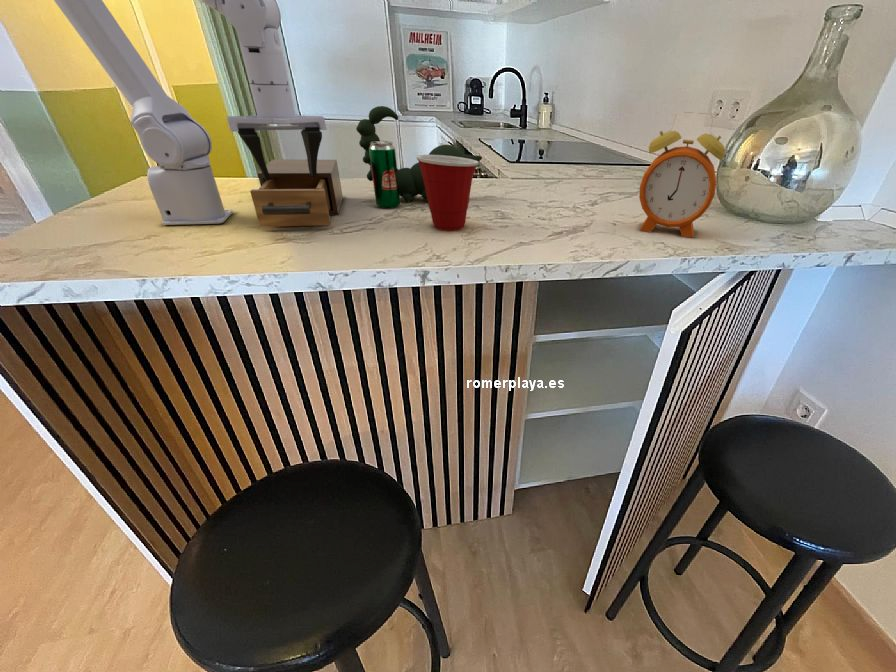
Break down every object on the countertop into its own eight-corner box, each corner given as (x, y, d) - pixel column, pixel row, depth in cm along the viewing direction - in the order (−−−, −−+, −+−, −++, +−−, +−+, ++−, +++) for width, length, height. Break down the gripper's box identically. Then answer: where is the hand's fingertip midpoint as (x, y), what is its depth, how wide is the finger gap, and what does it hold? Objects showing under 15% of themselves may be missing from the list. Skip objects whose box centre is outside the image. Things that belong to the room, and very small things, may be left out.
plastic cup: (490, 227, 85) (491, 158, 78) (446, 239, 78) (443, 163, 71) (453, 215, 91) (450, 149, 84) (409, 225, 84) (403, 154, 77)
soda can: (387, 210, 92) (379, 144, 85) (371, 205, 94) (362, 141, 87) (405, 206, 95) (399, 142, 88) (390, 201, 97) (383, 139, 90)
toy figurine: (372, 212, 96) (487, 202, 98) (348, 109, 85) (479, 101, 87) (376, 201, 103) (483, 192, 106) (355, 106, 92) (475, 98, 94)
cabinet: (338, 215, 87) (331, 173, 83) (268, 216, 85) (257, 173, 80) (343, 197, 99) (336, 159, 95) (281, 198, 96) (272, 159, 92)
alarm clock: (631, 230, 87) (654, 111, 76) (635, 222, 92) (657, 109, 81) (701, 240, 84) (737, 116, 72) (702, 231, 89) (735, 114, 77)
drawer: (327, 233, 75) (320, 196, 72) (254, 235, 73) (243, 197, 69) (335, 205, 90) (330, 174, 86) (274, 206, 87) (266, 174, 84)
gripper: (219, 84, 64) (248, 185, 72) (323, 86, 71) (339, 178, 79) (215, 82, 69) (242, 177, 77) (312, 84, 76) (328, 171, 84)
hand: (290, 177), depth 78 cm, fingers open, 7 cm apart
